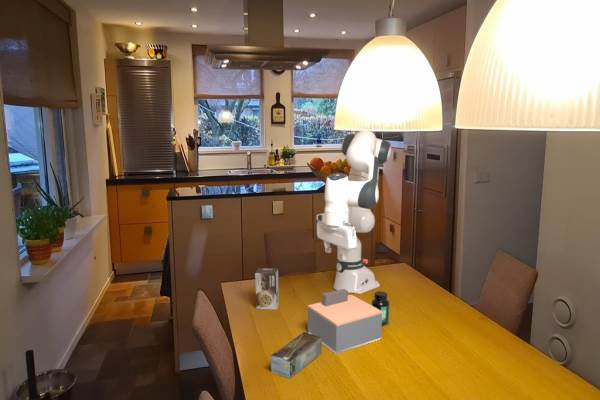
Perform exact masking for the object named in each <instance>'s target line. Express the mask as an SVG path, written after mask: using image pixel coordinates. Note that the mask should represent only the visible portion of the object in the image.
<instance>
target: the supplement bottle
mask: <svg viewBox="0 0 600 400" xmlns="http://www.w3.org/2000/svg"><path fill="white" fill-rule="evenodd" d="M373 297H374V298H372V300H371V306H373V307H375V308H377V309H379V310H381V311H382V327H385V326H387V325H389V322H390V301H389V300H388V292H386V291H382V290H381V291H379V290H378V291H375V292H374V296H373ZM384 325H385V326H384Z"/></svg>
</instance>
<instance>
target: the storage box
mask: <svg viewBox="0 0 600 400" xmlns="http://www.w3.org/2000/svg"><path fill="white" fill-rule="evenodd" d="M382 327H383V326H382V314H379V315H375V316H372V317H368V318H365V319H361V320H358V321H354V322H351V323H347V324H344V325H340V326H335V325H334V324H332V323H331V322H329V321H328V320H326V319H325V318H323V317H322V316H320V315H319V314H317V313H316V312H314V311H313V310H311V309H310V308H308V307H307V333H308V334H312V335H315V336H319V337H321V345H323V346H325V348H327V349H328V350H329V351H331V352H332V353H333V354H335V355H338V354H342V353H344V352H347V351H350V350H354V349H357V348H359V347H360V348H361V347H362V346H366V344H367V345H369V344H368V343H370V344H372V343H371V342H373V343H375V342H374V341H376V342H378V341H377V340H379V341H381V340H382V329H383V328H382ZM380 339H381V340H380Z"/></svg>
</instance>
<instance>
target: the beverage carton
mask: <svg viewBox="0 0 600 400" xmlns="http://www.w3.org/2000/svg"><path fill="white" fill-rule="evenodd" d="M322 345H323V344H322V343H321V337H319V336H315V335H312V334H309V333H308V332H305V331H303V332H301V333H300V334H299V335H298V336H296V337H295V338H293V339H292V340H290V341H289V342H288V343H287V344H285V345H284V346H282V347H281V348H280V349H278V350H277V351H275V352H273V353H272V354H271V355H270V372H271V373H273V374H276V375H279V376H281V377H283V378H286V379H288V380H291V379H292V378H293V377H295V376H296V375H297V374H298V373H300V371H302V370H303V369H304V368H306V366H308V365H309V364H310V363H311V362H312V361H314V360H315V359H316V358H317V357H319V356H320V355H321V354H322V352H323V351H322V349H323V348H322V347H323V346H322Z"/></svg>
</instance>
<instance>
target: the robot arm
mask: <svg viewBox="0 0 600 400" xmlns="http://www.w3.org/2000/svg"><path fill="white" fill-rule="evenodd" d="M342 139H343V140H342V142H341V152H342V154H343V155H344V156H345V158H346V159H345V160H346V162H347V163H348V166H350V170H349V173H348V175H347V174H346V173H342V172H335V173H330V174H328V176H327V177H326V180H325V187H324V201H325V202H324V203H325V206H324V212H323V213H319V214H316V221H317V222H316V235H317V239H320V240H322V241H323V245H324V248H325V249H324V251H325V253H327V254H331V253H332V247H331V245H330V244H332V245H334V246H336V248H337V249H336V250H337V257H336V263H335V266H336V268H335V269H336V273H335V278H334V279H335V280H334V282H333V287H332V288H333V289H334V290H335V291H337V290H341V289H345V290H347V291H348V294H351V293H352V294H358V295H359V294H360V295H362V294H364V293H366V292H369V291H371V290H374V289H376V288H379V287H380V286H381V285H380V283H379V281H377V280H376V278H375V273H374V272H373V270H371V269H369V268H368V267H366V266H365V264H366V265H367V264H368V263H369V260H368V259H366V258H363V257H362V241H361V240H360V239H359V238H358V236H357V233H359V234H365V233H369V232H371V231H372V230H373V228H374V226H375V224H376V223H375V222H376V219H375V215H374V214H373V212H372V210H371V209H373V208H374V207H376V205H377V204H378V202H379V197H380V195H379V194H380V193H379V192H380V191H379V181H380V180H379V178H380V165H383V164H385V163H387V161H388V160H389V159H390V157H391V154H392V147H391V143H390V142H389V141H388V140H386V139H380V138H377V136H376V135H375V134H374V132H373V131H370V130H369V131H362V130H360V131H358V132H357V133H356V134H355V133H348V134H347V135H345V136H344V138H342Z"/></svg>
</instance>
